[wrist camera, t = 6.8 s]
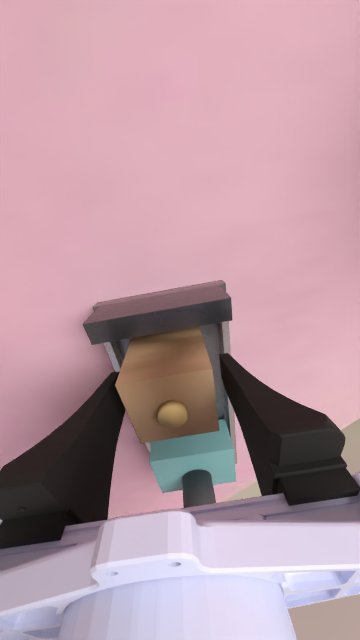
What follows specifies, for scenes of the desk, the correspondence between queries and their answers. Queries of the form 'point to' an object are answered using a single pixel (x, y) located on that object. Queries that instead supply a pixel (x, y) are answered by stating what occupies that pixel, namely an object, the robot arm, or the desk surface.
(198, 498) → the ram
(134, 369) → the wooden block with knob
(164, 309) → the tray
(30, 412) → the desk surface
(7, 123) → the desk surface
